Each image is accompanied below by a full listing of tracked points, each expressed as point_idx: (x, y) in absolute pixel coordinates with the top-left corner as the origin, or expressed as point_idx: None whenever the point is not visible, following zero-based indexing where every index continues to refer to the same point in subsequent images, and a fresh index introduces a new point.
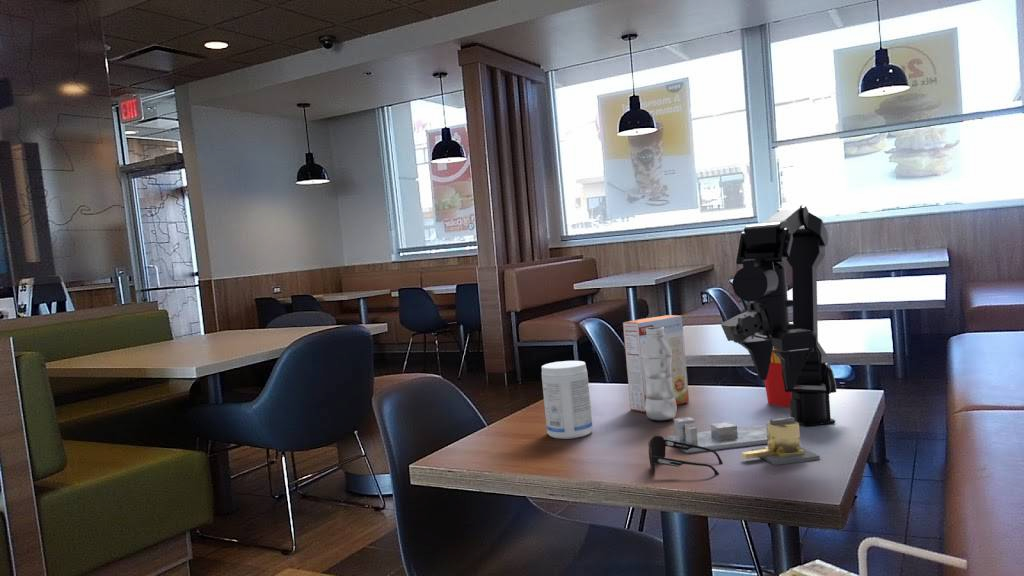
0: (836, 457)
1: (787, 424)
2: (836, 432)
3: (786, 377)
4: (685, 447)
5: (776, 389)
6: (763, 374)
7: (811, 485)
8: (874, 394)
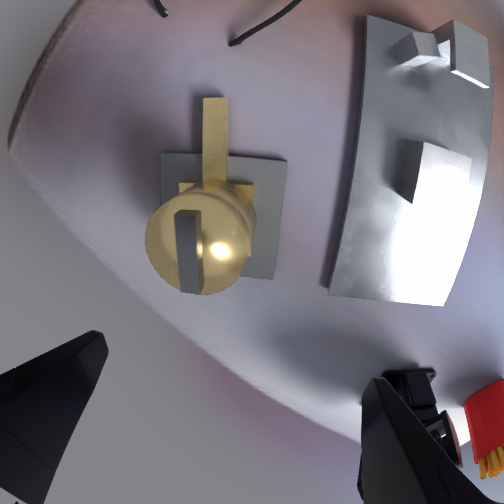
0: (170, 293)
1: (173, 253)
2: (319, 385)
3: (43, 354)
4: None
5: (497, 404)
6: (370, 410)
7: (54, 158)
8: None
